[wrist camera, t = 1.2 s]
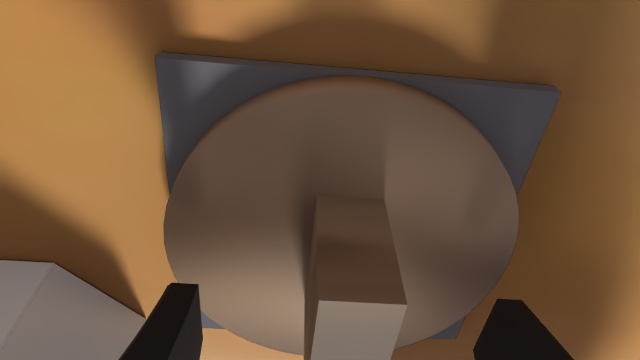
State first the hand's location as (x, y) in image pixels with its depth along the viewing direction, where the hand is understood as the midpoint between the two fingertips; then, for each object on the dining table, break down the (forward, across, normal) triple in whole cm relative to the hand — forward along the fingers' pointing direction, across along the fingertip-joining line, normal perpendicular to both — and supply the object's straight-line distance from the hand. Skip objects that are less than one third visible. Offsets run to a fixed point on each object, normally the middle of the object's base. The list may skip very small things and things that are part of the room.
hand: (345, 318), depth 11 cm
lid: (+3, 0, 0) cm, 3 cm away
